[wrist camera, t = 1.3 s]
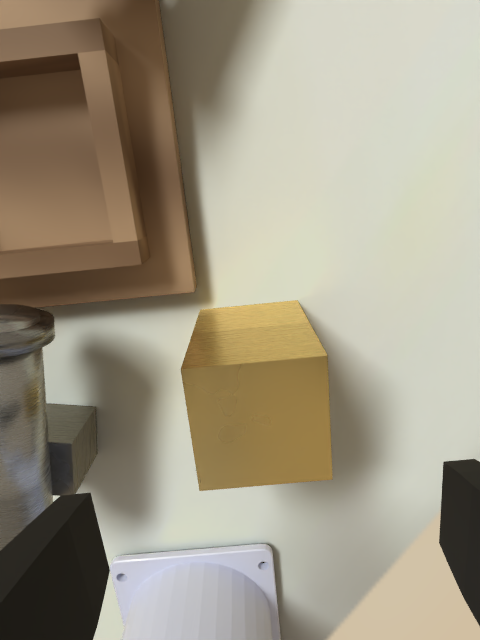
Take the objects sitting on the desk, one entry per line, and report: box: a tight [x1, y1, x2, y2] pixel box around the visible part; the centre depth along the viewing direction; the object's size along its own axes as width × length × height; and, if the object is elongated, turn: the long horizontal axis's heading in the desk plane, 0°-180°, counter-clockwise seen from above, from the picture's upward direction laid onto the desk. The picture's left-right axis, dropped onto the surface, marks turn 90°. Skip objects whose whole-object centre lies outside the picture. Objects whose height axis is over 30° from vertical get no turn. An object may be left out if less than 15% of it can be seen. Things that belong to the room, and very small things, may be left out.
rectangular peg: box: [181, 300, 332, 491], centre depth 15 cm, size 4×4×6 cm
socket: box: [0, 0, 197, 308], centre depth 14 cm, size 10×10×2 cm
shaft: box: [0, 304, 97, 551], centre depth 15 cm, size 8×3×6 cm, turn 176°
